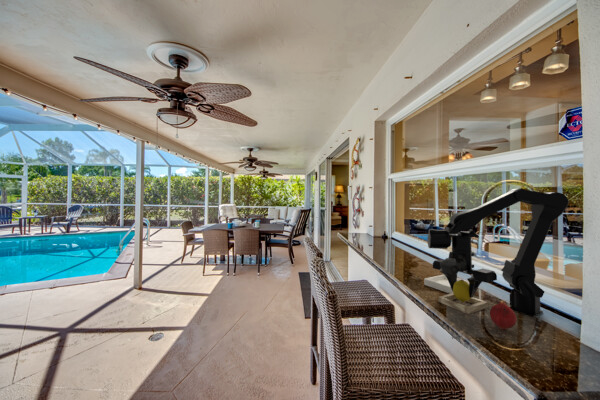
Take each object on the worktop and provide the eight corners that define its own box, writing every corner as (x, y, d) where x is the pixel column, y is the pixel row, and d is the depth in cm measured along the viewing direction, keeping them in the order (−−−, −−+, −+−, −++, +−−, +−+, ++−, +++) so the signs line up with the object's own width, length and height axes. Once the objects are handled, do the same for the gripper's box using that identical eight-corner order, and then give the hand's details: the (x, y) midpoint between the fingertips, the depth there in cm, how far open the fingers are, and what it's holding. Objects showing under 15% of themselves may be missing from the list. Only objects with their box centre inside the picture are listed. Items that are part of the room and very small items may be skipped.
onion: (518, 337, 65) (518, 307, 65) (491, 331, 68) (490, 302, 68) (514, 327, 70) (513, 299, 70) (488, 322, 73) (488, 295, 73)
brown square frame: (487, 307, 83) (487, 302, 83) (468, 314, 78) (468, 308, 78) (457, 296, 92) (457, 291, 92) (438, 301, 88) (438, 296, 88)
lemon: (476, 305, 82) (475, 282, 82) (459, 306, 83) (458, 282, 82) (465, 299, 88) (464, 276, 88) (449, 299, 88) (449, 277, 88)
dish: (475, 289, 99) (475, 283, 99) (454, 295, 93) (454, 288, 93) (444, 280, 111) (444, 274, 111) (424, 284, 105) (424, 278, 105)
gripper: (421, 247, 90) (422, 289, 90) (475, 257, 73) (476, 310, 73) (442, 244, 95) (442, 284, 95) (497, 253, 78) (498, 302, 78)
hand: (462, 294), depth 85 cm, fingers closed on lemon, 6 cm apart
